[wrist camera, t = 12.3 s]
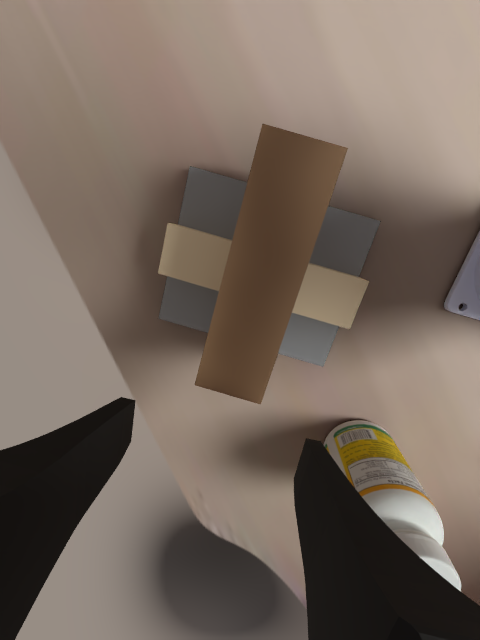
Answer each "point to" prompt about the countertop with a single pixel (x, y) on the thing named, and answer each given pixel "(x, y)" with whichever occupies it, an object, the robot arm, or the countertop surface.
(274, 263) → the walnut bar
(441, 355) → the countertop surface
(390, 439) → the supplement bottle
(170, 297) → the board
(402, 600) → the robot arm
